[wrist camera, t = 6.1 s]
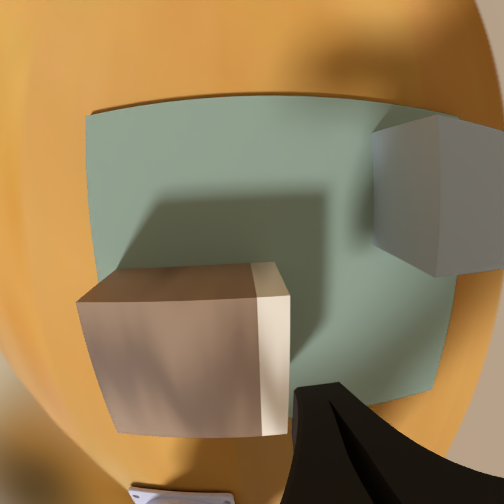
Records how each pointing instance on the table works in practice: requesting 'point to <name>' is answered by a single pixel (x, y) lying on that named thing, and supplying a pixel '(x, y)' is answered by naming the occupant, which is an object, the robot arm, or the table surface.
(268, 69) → the table surface
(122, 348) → the walnut block
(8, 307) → the table surface
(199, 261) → the felt mat
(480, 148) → the gray block
